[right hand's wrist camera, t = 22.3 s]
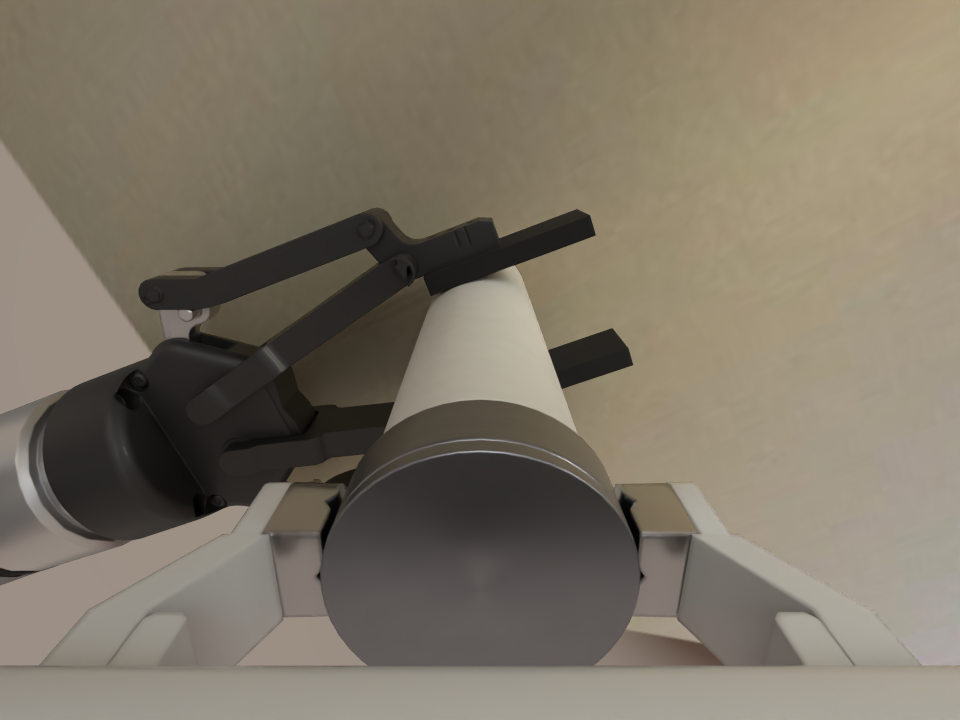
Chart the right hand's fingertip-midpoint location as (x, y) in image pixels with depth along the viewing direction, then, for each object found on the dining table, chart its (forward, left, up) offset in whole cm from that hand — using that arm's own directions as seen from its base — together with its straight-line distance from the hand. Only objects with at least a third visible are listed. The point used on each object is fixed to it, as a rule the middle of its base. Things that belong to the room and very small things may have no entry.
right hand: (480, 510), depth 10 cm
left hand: (0, +5, -12) cm, 13 cm away
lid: (0, 0, +2) cm, 2 cm away
